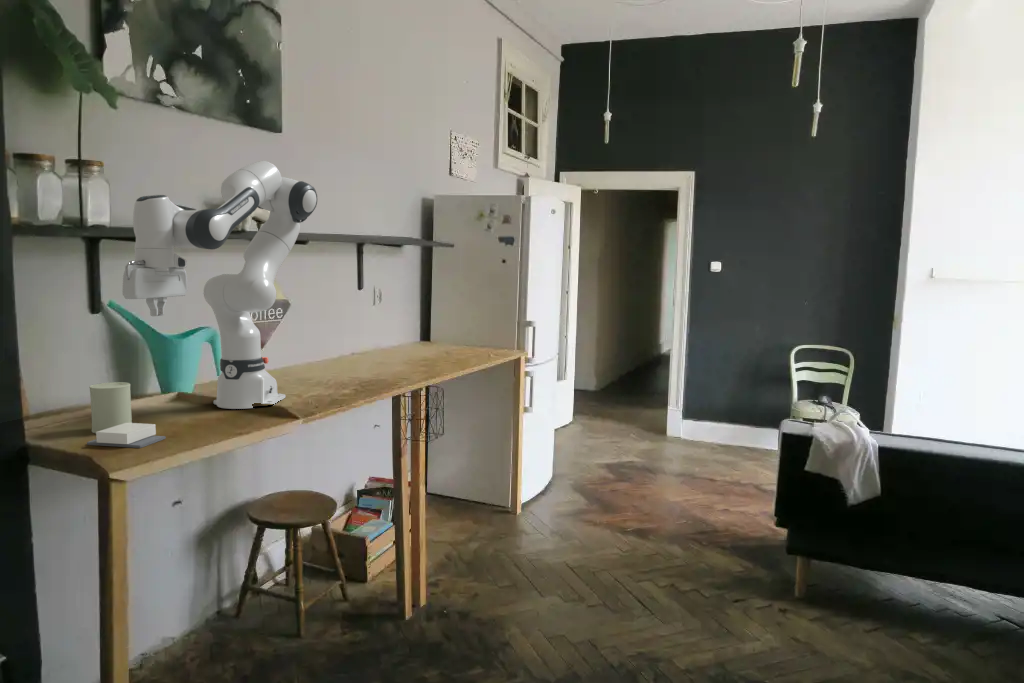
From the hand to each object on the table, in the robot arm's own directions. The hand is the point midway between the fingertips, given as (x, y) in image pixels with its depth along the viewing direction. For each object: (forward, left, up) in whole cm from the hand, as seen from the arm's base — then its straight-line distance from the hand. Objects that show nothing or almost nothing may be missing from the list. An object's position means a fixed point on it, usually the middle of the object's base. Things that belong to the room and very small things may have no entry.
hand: (157, 315), depth 182 cm
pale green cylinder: (+3, -12, -29) cm, 32 cm away
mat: (+13, 0, -29) cm, 32 cm away
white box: (+8, 0, -27) cm, 28 cm away
